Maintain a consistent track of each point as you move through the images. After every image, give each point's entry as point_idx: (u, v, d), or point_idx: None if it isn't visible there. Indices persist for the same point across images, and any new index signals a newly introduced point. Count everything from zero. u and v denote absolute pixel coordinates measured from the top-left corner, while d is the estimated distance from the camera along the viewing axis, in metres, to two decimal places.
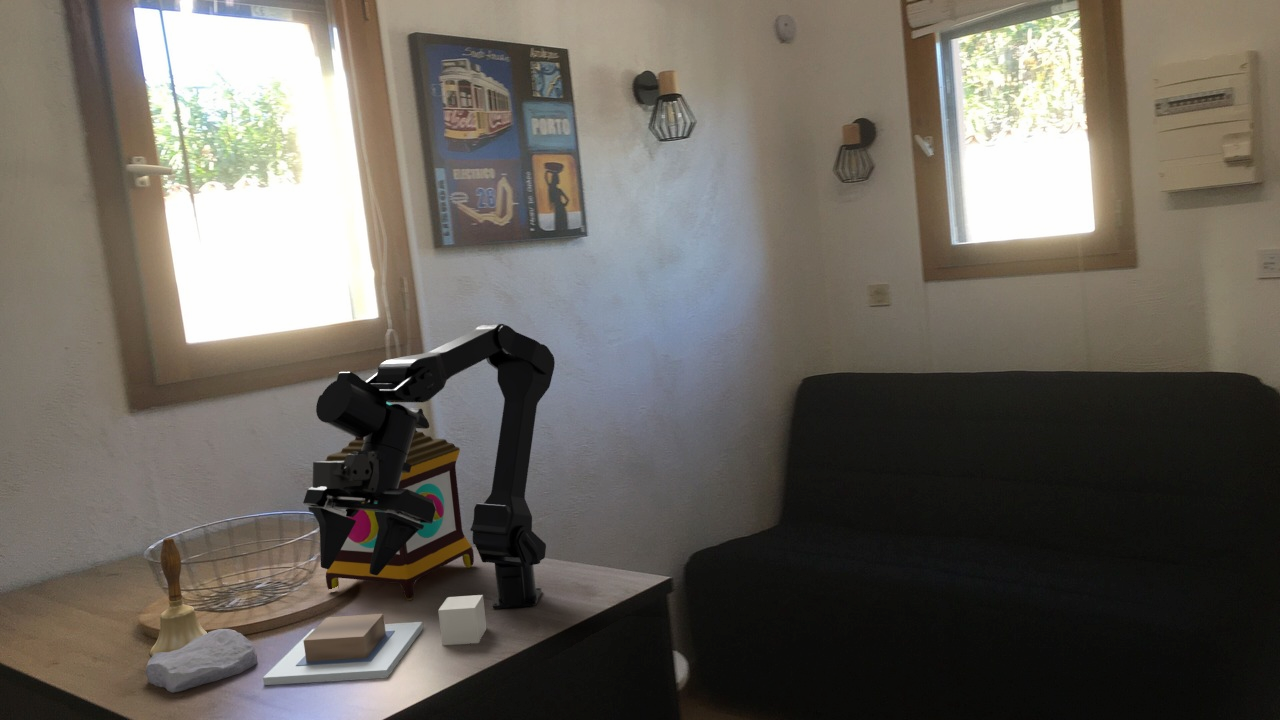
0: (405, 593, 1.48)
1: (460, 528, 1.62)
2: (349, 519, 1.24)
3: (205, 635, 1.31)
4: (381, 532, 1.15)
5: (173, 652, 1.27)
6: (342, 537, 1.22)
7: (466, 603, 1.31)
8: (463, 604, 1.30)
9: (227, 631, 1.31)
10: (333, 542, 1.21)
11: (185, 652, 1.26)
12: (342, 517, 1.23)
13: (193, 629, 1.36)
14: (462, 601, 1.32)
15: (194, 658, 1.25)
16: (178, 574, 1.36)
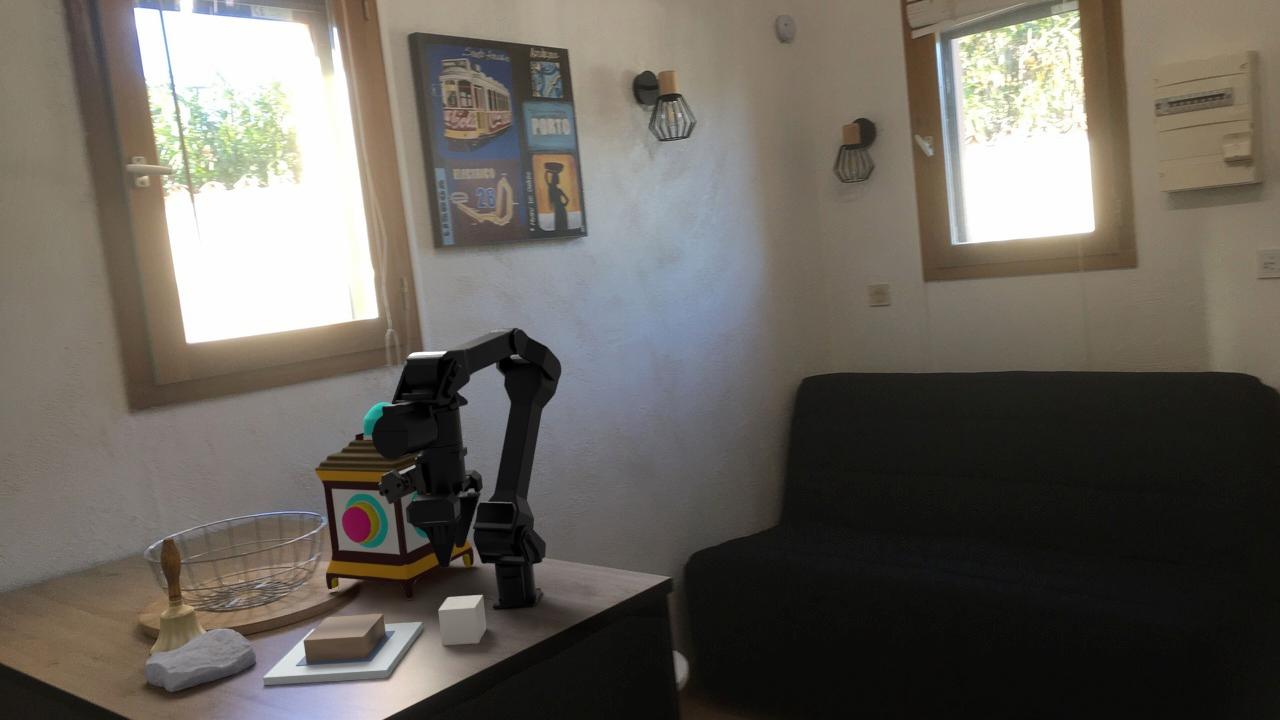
0: (405, 593, 1.48)
1: None
2: (469, 498, 1.35)
3: (203, 635, 1.31)
4: None
5: (171, 652, 1.27)
6: (467, 516, 1.35)
7: (466, 603, 1.31)
8: (463, 604, 1.30)
9: (225, 631, 1.31)
10: (459, 523, 1.35)
11: (184, 652, 1.27)
12: (461, 499, 1.35)
13: (193, 629, 1.36)
14: (462, 601, 1.32)
15: (193, 657, 1.25)
16: (178, 574, 1.36)
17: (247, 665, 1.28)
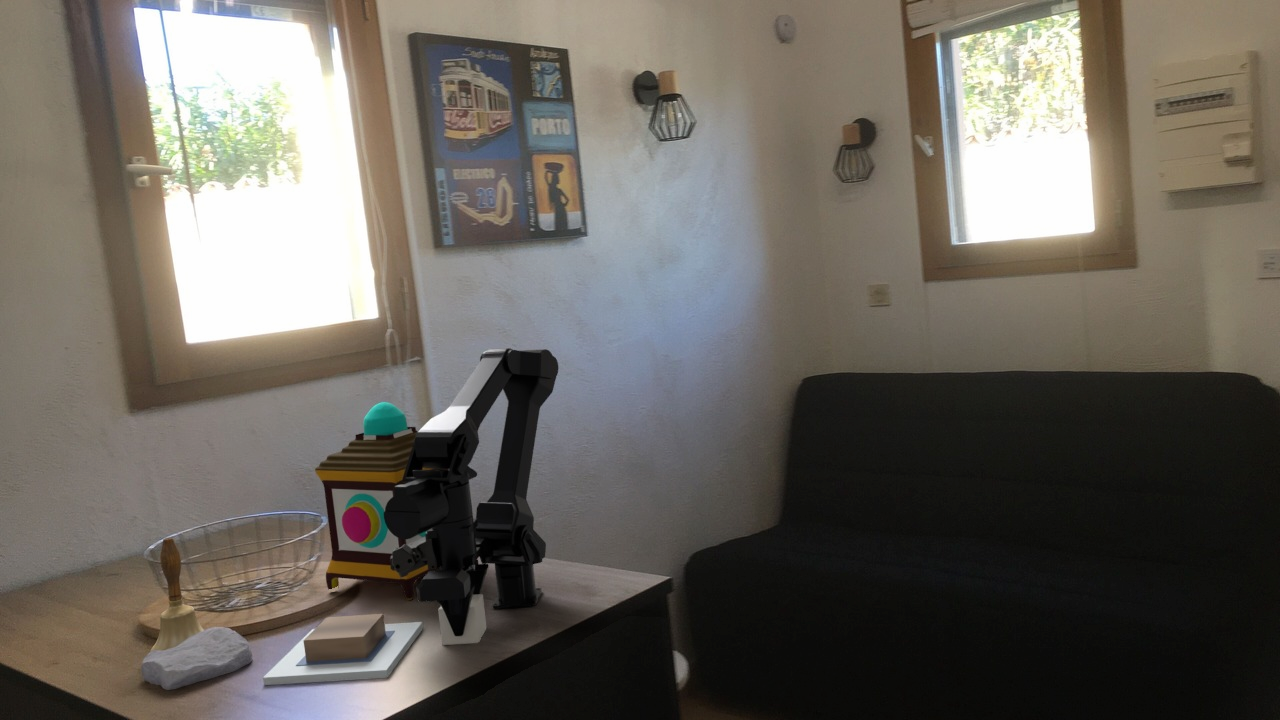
0: (405, 593, 1.48)
1: None
2: (476, 571, 1.34)
3: (200, 633, 1.32)
4: None
5: (168, 650, 1.28)
6: (474, 590, 1.34)
7: None
8: None
9: (222, 629, 1.32)
10: None
11: (180, 650, 1.27)
12: (468, 572, 1.34)
13: (193, 629, 1.36)
14: None
15: (190, 655, 1.26)
16: (178, 574, 1.36)
17: (243, 663, 1.28)
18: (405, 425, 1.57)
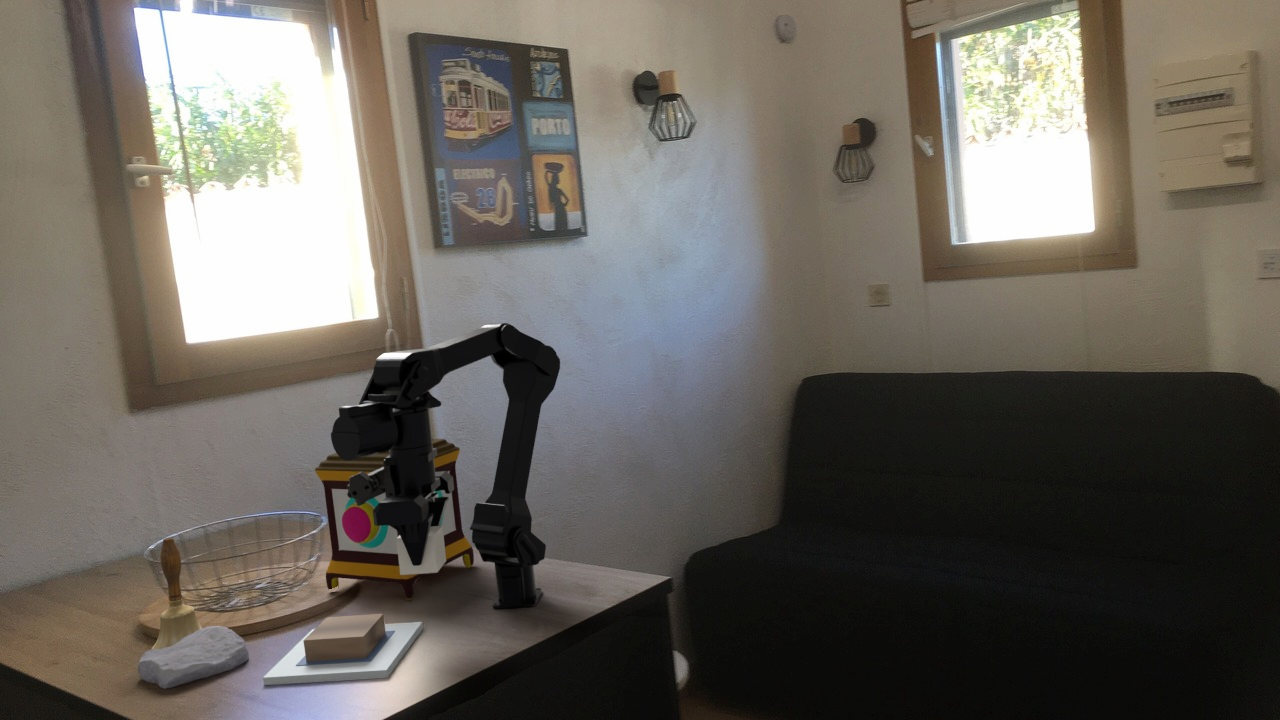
0: (405, 593, 1.48)
1: (460, 528, 1.62)
2: (436, 503, 1.32)
3: (197, 632, 1.32)
4: None
5: (165, 649, 1.28)
6: (434, 521, 1.32)
7: None
8: None
9: (218, 628, 1.32)
10: None
11: (177, 649, 1.28)
12: (428, 504, 1.32)
13: (193, 629, 1.36)
14: None
15: (186, 654, 1.26)
16: (178, 574, 1.36)
17: (240, 662, 1.29)
18: None
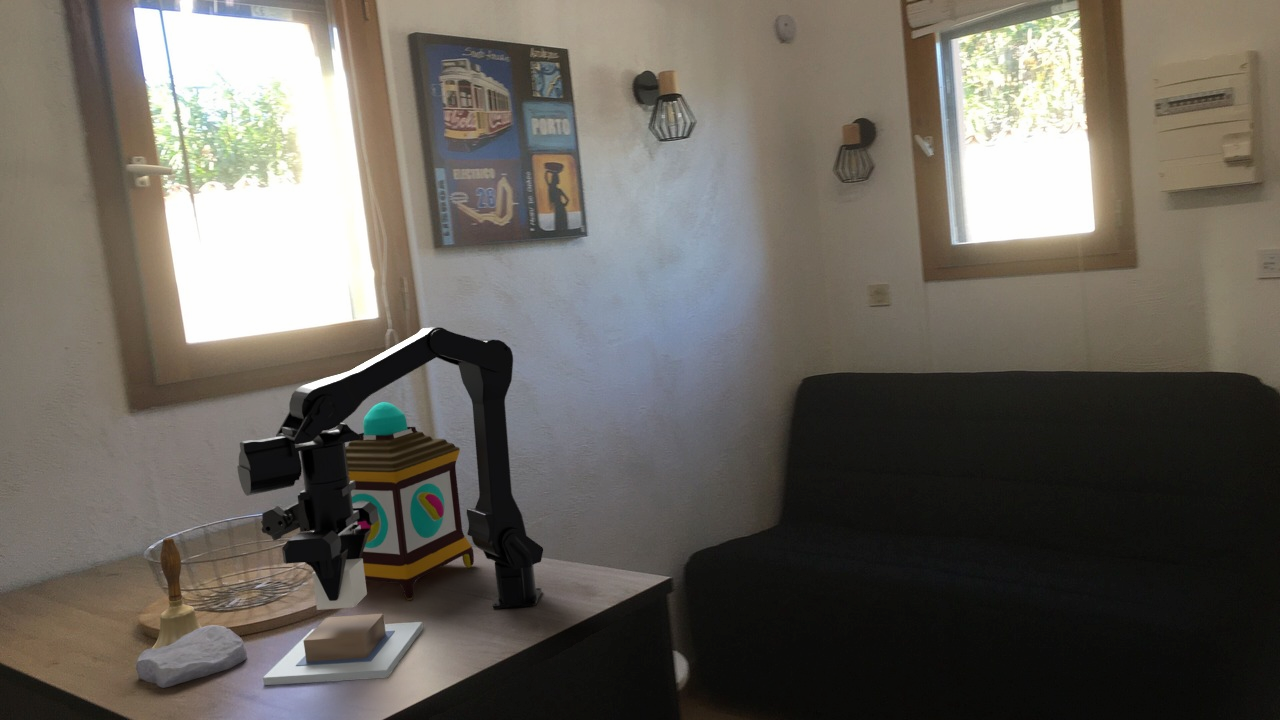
0: (405, 593, 1.48)
1: (460, 528, 1.62)
2: (356, 535, 1.30)
3: (195, 631, 1.33)
4: None
5: (163, 648, 1.29)
6: (354, 554, 1.30)
7: None
8: None
9: (216, 627, 1.33)
10: None
11: (175, 648, 1.28)
12: (348, 537, 1.30)
13: (193, 629, 1.36)
14: None
15: (184, 653, 1.27)
16: (178, 574, 1.36)
17: (238, 661, 1.29)
18: (405, 425, 1.57)
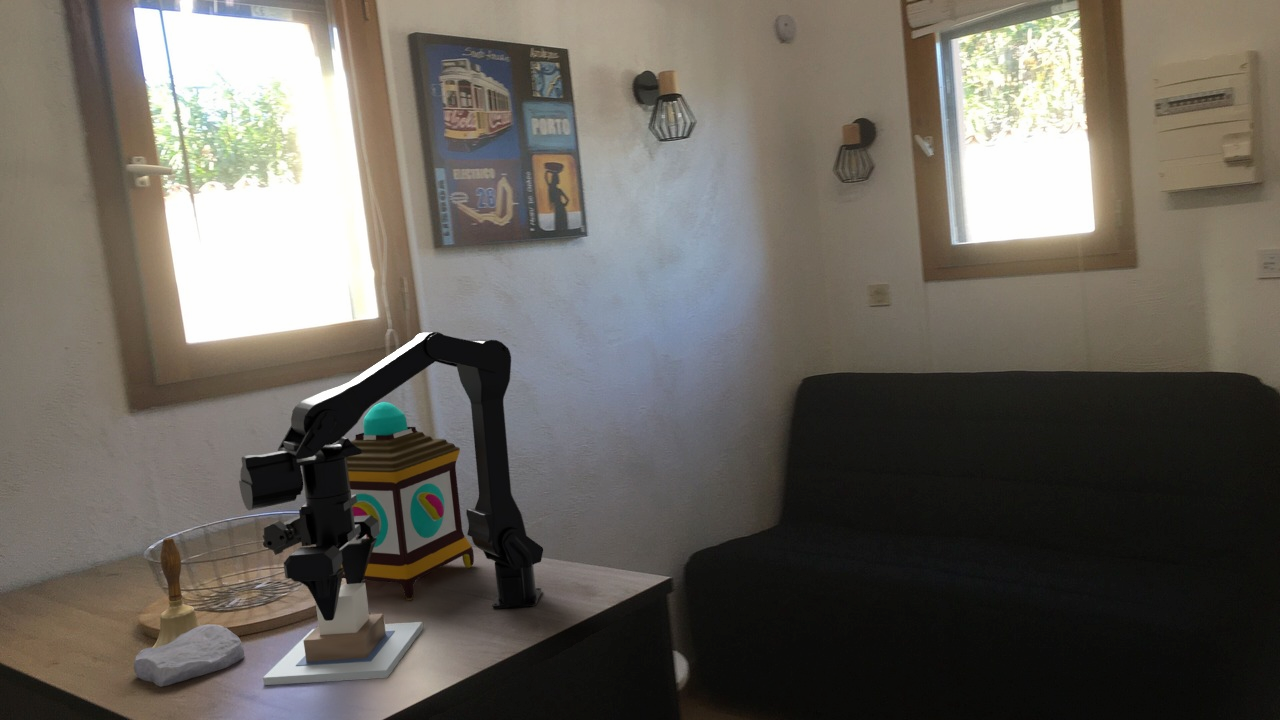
0: (405, 593, 1.48)
1: (460, 528, 1.62)
2: (362, 545, 1.32)
3: (192, 631, 1.33)
4: None
5: (161, 647, 1.29)
6: (360, 563, 1.32)
7: (346, 591, 1.27)
8: (341, 592, 1.27)
9: (214, 626, 1.33)
10: (352, 571, 1.32)
11: (173, 648, 1.29)
12: (354, 546, 1.33)
13: None
14: (342, 589, 1.28)
15: (182, 652, 1.27)
16: (178, 574, 1.36)
17: (236, 660, 1.30)
18: (405, 425, 1.57)
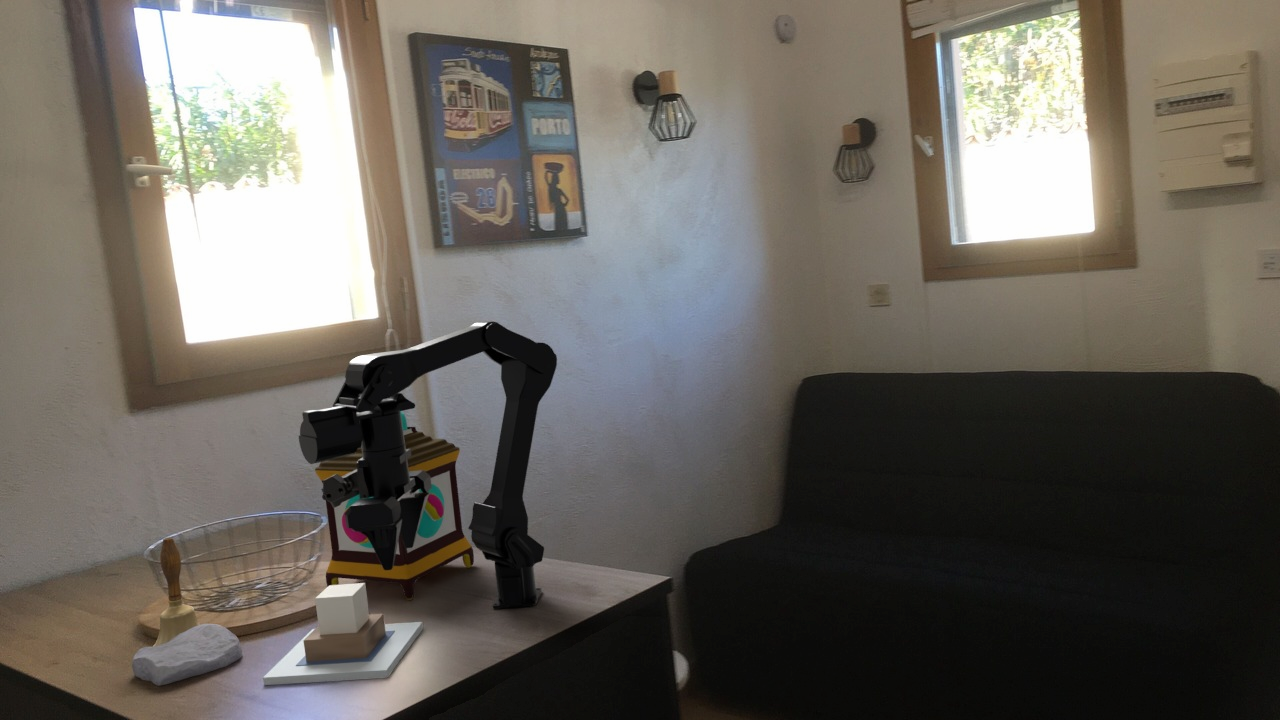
0: (405, 593, 1.48)
1: (460, 528, 1.62)
2: (416, 499, 1.36)
3: (190, 630, 1.34)
4: None
5: (159, 646, 1.29)
6: (414, 517, 1.36)
7: (346, 591, 1.27)
8: (341, 592, 1.27)
9: (212, 626, 1.33)
10: (407, 524, 1.36)
11: (171, 647, 1.29)
12: (408, 500, 1.36)
13: None
14: (342, 589, 1.28)
15: (180, 651, 1.27)
16: (178, 574, 1.37)
17: (234, 659, 1.30)
18: (405, 425, 1.57)
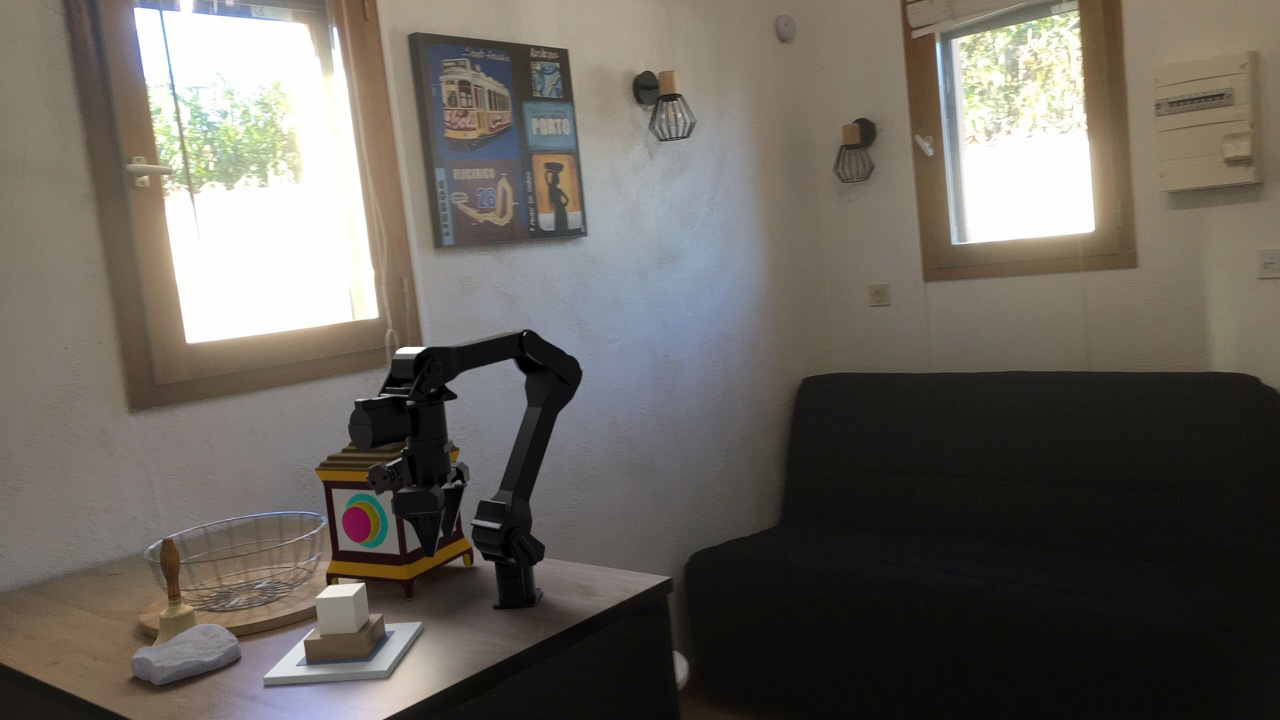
0: (405, 593, 1.48)
1: (460, 528, 1.62)
2: (456, 489, 1.38)
3: (189, 630, 1.34)
4: None
5: (158, 646, 1.30)
6: (454, 507, 1.38)
7: (346, 591, 1.27)
8: (341, 592, 1.27)
9: (211, 626, 1.34)
10: (446, 514, 1.38)
11: (170, 646, 1.29)
12: (448, 490, 1.38)
13: None
14: (342, 589, 1.28)
15: (179, 651, 1.27)
16: (177, 574, 1.37)
17: (232, 659, 1.30)
18: None
